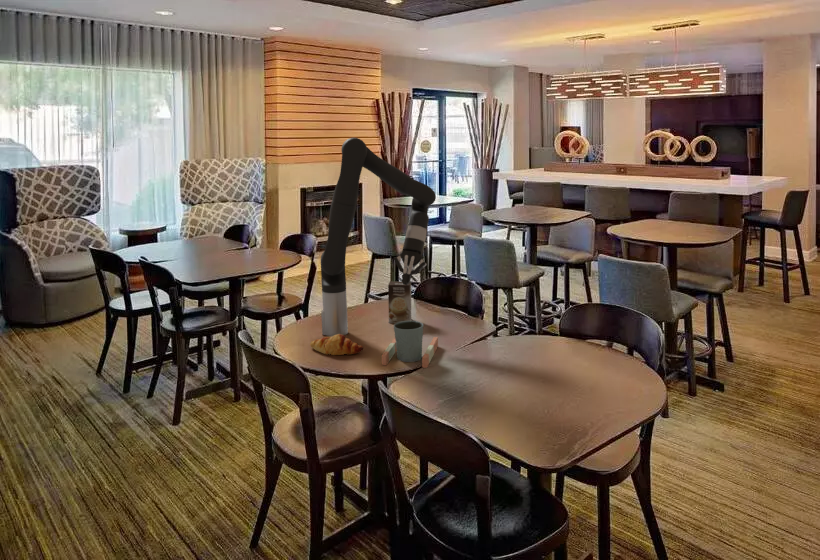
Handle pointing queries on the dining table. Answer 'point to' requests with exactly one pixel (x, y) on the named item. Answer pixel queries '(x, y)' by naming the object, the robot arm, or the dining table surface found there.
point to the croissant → (336, 345)
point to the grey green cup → (409, 340)
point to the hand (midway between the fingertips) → (405, 284)
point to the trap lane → (425, 359)
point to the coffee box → (399, 302)
